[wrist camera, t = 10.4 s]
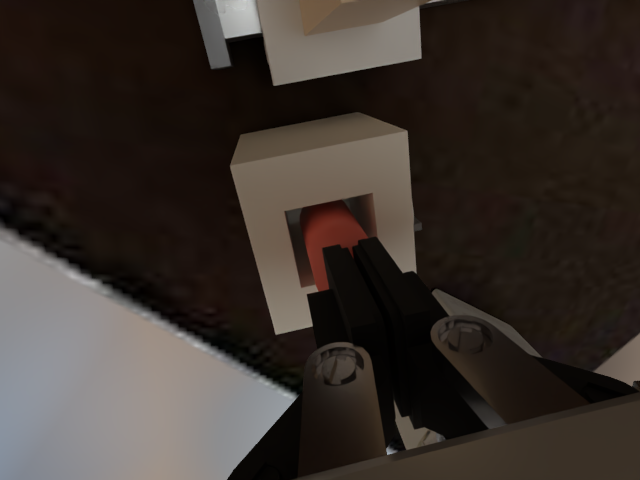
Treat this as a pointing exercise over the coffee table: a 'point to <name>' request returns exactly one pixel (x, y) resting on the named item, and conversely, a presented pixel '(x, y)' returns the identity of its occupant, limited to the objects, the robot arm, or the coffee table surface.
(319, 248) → the button
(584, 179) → the coffee table surface
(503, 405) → the robot arm
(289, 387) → the coffee table surface
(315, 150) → the white cube box
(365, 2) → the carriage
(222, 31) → the rail
